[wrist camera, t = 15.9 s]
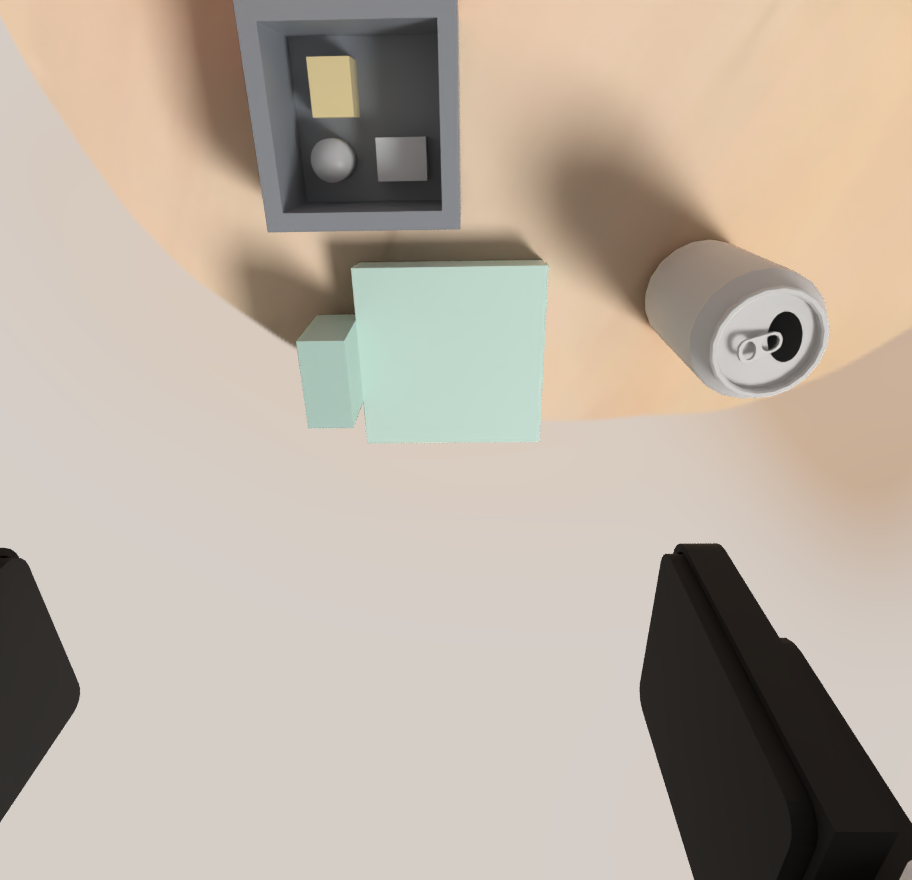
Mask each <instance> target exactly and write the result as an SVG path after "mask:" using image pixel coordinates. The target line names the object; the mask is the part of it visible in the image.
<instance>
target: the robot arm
mask: <svg viewBox="0 0 912 880" xmlns="http://www.w3.org/2000/svg"><path fill="white" fill-rule="evenodd" d="M79 696H80V687H79V683H78V681H77V678H76V676H75V674H74V671H73V669H72V667H71V664H70V662H69V660H68V657H67V655H66V653H65V650H64V648H63V645H62V643H61V641H60V638H59V636H58V634H57V631H56V629H55V627H54V624H53V622H52V620H51V617H50V615H49V613H48V610H47V608H46V605H45V603H44V601H43V598H42V596H41V594H40V591H39V589H38V587H37V584H36V582H35V580H34V577H33V575H32V572H31V570H30V568H29V566H28V564H27V563H26V561H25V560H23V559H21V558H19V557H18V555H17V554H16V553H15V552H14V551H12V550H11V549H7V548H0V822H1V820H2V819H3V817H4V816H5V814H6V813H7V811H8V810H9V808H10V807H11V805H12V804H13V802H14V801H15V799H16V798H17V796H18V795H19V793H20V792H21V790H22V789H23V787H24V786H25V784H26V783H27V781H28V780H29V778H30V777H31V775H32V774H33V772H34V771H35V769H36V768H37V766H38V765H39V763H40V762H41V760H42V759H43V757H44V756H45V754H46V753H47V751H48V750H49V748H50V747H51V745H52V744H53V742H54V741H55V739H56V738H57V736H58V735H59V733H60V732H61V730H62V729H63V727H64V726H65V724H66V723H67V721H68V720H69V719H70V717H71V715H72V714H73V712H74V711H75V709H76V707H77V704H78V701H79ZM640 701H641V706H642V710H643V714H644V717H645V721H646V724H647V727H648V730H649V733H650V737H651V740H652V743H653V747H654V750H655V753H656V756H657V760H658V763H659V766H660V769H661V773H662V776H663V779H664V782H665V786H666V789H667V792H668V795H669V799H670V802H671V805H672V808H673V812H674V815H675V818H676V822H677V824H678V828H679V831H680V835H681V838H682V841H683V844H684V848H685V851H686V854H687V857H688V861H689V864H690V867H691V870H692V874H693V877H694V880H912V823H911V822H910V820H909V818H908V817H907V816H906V814H905V812H904V811H903V809H902V808H901V806H900V805H899V803H898V801H897V800H896V798H895V797H894V795H893V794H892V792H891V791H890V789H889V787H888V786H887V784H886V783H885V781H884V780H883V778H882V777H881V775H880V774H879V772H878V771H877V769H876V767H875V766H874V764H873V763H872V761H871V760H870V758H869V756H868V755H867V753H866V752H865V750H864V749H863V747H862V746H861V744H860V742H859V741H858V739H857V738H856V737H855V735H854V733H853V732H852V730H851V729H850V727H849V725H848V724H847V722H846V721H845V719H844V718H843V716H842V715H841V713H840V711H839V710H838V708H837V707H836V705H835V704H834V702H833V701H832V699H831V697H830V696H829V694H828V693H827V691H826V690H825V688H824V687H823V685H822V683H821V682H820V680H819V679H818V677H817V676H816V674H815V673H814V671H813V670H812V668H811V666H810V665H809V663H808V662H807V660H806V659H805V657H804V656H803V654H802V652H801V651H800V650H799V649H798V648H797V646H796V645H795V644H794V643H793V642H792V641H790V640H788V639H787V638H779V636H778V635H777V633H776V631H775V630H774V628H773V627H772V625H771V624H770V622H769V620H768V619H767V617H766V615H765V614H764V612H763V611H762V609H761V607H760V606H759V604H758V602H757V601H756V599H755V598H754V596H753V594H752V593H751V591H750V590H749V588H748V586H747V585H746V583H745V581H744V580H743V578H742V577H741V575H740V574H739V572H738V570H737V569H736V567H735V565H734V564H733V562H732V560H731V559H730V557H729V556H728V554H727V552H726V551H725V549H724V548H723V547H722V546H721V545H719V544H678V545H677V546H676V548H675V549H674V553H673V554H665V555H663V557H662V560H661V564H660V570H659V576H658V582H657V587H656V593H655V599H654V605H653V611H652V617H651V622H650V628H649V634H648V640H647V646H646V652H645V658H644V663H643V669H642V675H641V681H640Z"/></svg>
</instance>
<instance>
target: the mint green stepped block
mask: <svg viewBox="0 0 912 880" xmlns="http://www.w3.org/2000/svg"><path fill="white" fill-rule="evenodd" d="M548 268H549V265H548V264H547V262H544V261H543V260H487V261H420V262H358V264H357V265H353V266H352V268H351V275H352V286H353V296H354V307H355V314H352V315H316V317H315V318H314V319H313V321H312V322H311V323H310V324H309V326H308V327H307V328H306V329H305V331H304V332H303V333H302V334H301V336H300V337H299V338H298V340H297V341H296V345H297V352H298V359H299V366H300V373H301V379H302V387H303V394H304V401H305V408H306V415H307V422H308V428H353V427H354V425H355V422H356V419H357V417H358V414H359V411H360V408H361V405H362V403H363V402H364V413H365V424H366V434H367V443H447V442H448V443H453V442H454V443H456V442H539V441H540V423H541V403H542V384H543V365H544V345H545V326H546V307H547V287H548Z"/></svg>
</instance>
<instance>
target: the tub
mask: <svg viewBox="0 0 912 880" xmlns="http://www.w3.org/2000/svg"><path fill="white" fill-rule="evenodd" d="M233 5H234V11H235V18H236V24H237V31H238V38H239V44H240V51H241V58H242V64H243V71H244V78H245V84H246V91H247V97H248V104H249V111H250V117H251V124H252V131H253V137H254V144H255V150H256V157H257V164H258V170H259V177H260V184H261V190H262V197H263V203H264V210H265V217H266V223H267V230H268V232H318V231H383V230H447V229H460V222H461V187H460V105H459V22H458V0H233Z"/></svg>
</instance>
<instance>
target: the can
mask: <svg viewBox="0 0 912 880" xmlns="http://www.w3.org/2000/svg"><path fill="white" fill-rule="evenodd" d="M645 311H646V314H647V317H648V320H649V323H650V326H651V327H652V328H653V329H654V330H655V332H656V333H657V334H658V335H659V336H660V338H661V339H662V340H663V341H664V342H665V343H666V344H667V345H668V346H669V347H670V348H671V349H672V350H673V351H674V352H675V353H676V354H677V356H678V357H679V358H680V359H681V360H682V361H683V362H684V363H685V364H686V365H687V366H688V367H689V368H690V369H691V370H692V371H693V372H694V373H695V375H696V376H697V377H698V378H699V379H700V380H701V381H702V382H703V383H704V384H705V385H706V386H707V387H709V388H711V389H713V390H714V391H716V392H718V393H720V394H721V395H725V396H731V397H736V398H761V397H770V396H774V395H777V394H779V393H782V392H785V391H787V390H790V389H791V388H793V387H794V386H796V385H797V384H798V383H800V382H801V381H803V380H804V379H805V378H807V377H808V375H809V374H810V373H811V372H812V371H813V370H814V368H815V367H816V366H817V365H818V364H819V362H820V360H821V358H822V356H823V354H824V352H825V350H826V348H827V344H828V338H829V331H830V327H829V322H828V317H827V312H826V307H825V302H824V298H823V297H822V295H821V294H820V292H819V291H818V289H817V288H816V286H815V285H814V284H813V282H811V281H810V280H808V279H806V278H805V277H803V276H802V275H800V274H798V273H797V272H795V271H793V270H790V269H788V268H786V267H783V266H781V265H779V264H776V263H774V262H772V261H769V260H767V259H764V258H762V257H760V256H757V255H755V254H753V253H750V252H748V251H746V250H743V249H741V248H739V247H736V246H734V245H732V244H729V243H726V242H721V241H716V240H711V239H710V240H703V241H695V242H691V243H689V244H687V245H685V246H683V247H680V248H678V249H676V250H675V251H674V252H672V253H671V254H670V255H669V256H668V257H666V258H665V259H664V260H663V261H662V262H661V263H660V265H659V266H658V267H657V269H656V270H655V272H654V273H653V275H652V276H651V278H650V281H649V284H648V287H647V291H646V294H645Z"/></svg>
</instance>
